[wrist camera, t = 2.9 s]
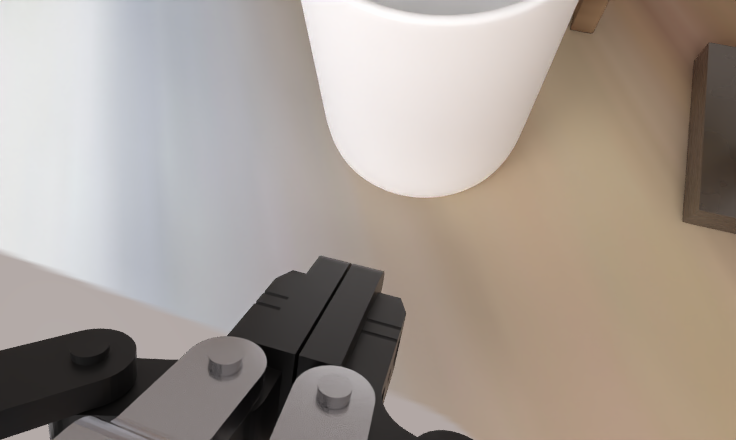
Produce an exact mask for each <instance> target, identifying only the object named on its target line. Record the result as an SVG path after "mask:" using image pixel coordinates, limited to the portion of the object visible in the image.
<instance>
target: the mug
mask: <svg viewBox="0 0 736 440" xmlns="http://www.w3.org/2000/svg"><path fill="white" fill-rule="evenodd" d="M578 1H579V0H301V2H302V7H303V12H304V16H305V21H306V26H307V30H308V35H309V40H310V44H311V49H312V54H313V59H314V63H315V68H316V73H317V77H318V82H319V87H320V91H321V96H322V101H323V106H324V110H325V115H326V119H327V123H328V127H329V129H330V132H331V135H332V138H333V141H334V143H335V145H336V147H337V148H338V150H339V152H340V154H341V155H342V157H343V158H344V159H345V161H346V162H347V164H348V165H349V166H350V167H351V168H352V169H353V170H354V171H355V172H356V173H357V174H359V175H360V176H361V177H363V178H364V179H365V180H367V181H368V182H370V183H372V184H373V185H375V186H377V187H379V188H382V189H384V190H386V191H389V192H392V193H395V194H399V195H404V196H409V197H420V198H431V197H442V196H447V195H452V194H455V193H458V192H462V191H465V190H467V189H469V188H471V187H473V186H475V185H477V184H479V183H480V182H482V181H483V180H485V179H487V178H488V177H489V176H490V175H491V174H493V173H494V172H495V171H496V170H497V169H498V168H499V167H500V166H501V164H502V163H503V162H504V161H505V160H506V159H507V157H508V156H509V154H510V153H511V151H512V150H513V148H514V146H515V145H516V143H517V141H518V139H519V137H520V134H521V132H522V130H523V128H524V126H525V123H526V121H527V119H528V116H529V114H530V112H531V110H532V107H533V105H534V103H535V100H536V98H537V96H538V93H539V91H540V89H541V86H542V84H543V82H544V79H545V77H546V75H547V72H548V70H549V68H550V66H551V63H552V61H553V59H554V56H555V54H556V52H557V49H558V47H559V45H560V42H561V40H562V38H563V35H564V33H565V31H566V29H567V26H568V24H569V22H570V19H571V17H572V15H573V12H574V10H575V8H576V5H577V3H578Z"/></svg>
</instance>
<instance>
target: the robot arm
mask: <svg viewBox="0 0 736 440" xmlns="http://www.w3.org/2000/svg"><path fill="white" fill-rule="evenodd" d="M383 280H384V271H380V270H376V269H372V268H368V267H364V266H360V265H356V264H351V263H348V262H344V261H340V260H336V259H332V258H328V257H324V256H319V258H318V259H317V260H316V262H315V263H314V264H313V266H312V267H311V268H310V270H309V271H308V272H307V274H305V273H301V272H297V271H291V272H288V273H286V274H284V275H282V276H280V277H278V278H276V279H275V280H274V281H273V282H272V283H271V285H270V286H269V287H268V288H267V289H266V290H265V293H263V294H262V295H261V296H260V298H259V299H258V300H257V302H256V304H254V305H253V306H252V307H251V308H250V309H249V311H248V312H247V313H246V314H245V315H244V317H243V318H242V319H241V320H240V321H239V322H238V324H237V325H236V326H235V327H234V328H233V330H232V331H231V332H230V333H229V334H228V336H223V337H215V338H211V339H207V340H205V341H202V342H200V343H198V344H196V345H195V346H194V347H192V348H191V349H190V350H189V351H188V352H187V353H186V354H185V355H183V356H182V357H181V358H180V359H179V360H163V359H141V358H137V355H136V345H135V342H134V341H133V340H132V338H130V337H129V336H128V335H126V334H124V333H123V332H120V331H116V330H111V329H89V330H84V331H79V332H75V333H70V334H66V335H62V336H58V337H54V338H51V339H46V340H42V341H38V342H34V343H30V344H26V345H21V346H17V347H13V348H9V349H5V350H1V351H0V440H1V439H4V438H7V437H10V436H13V435H16V434H19V433H22V432H25V431H28V430H31V429H34V428H37V427H40V426H43V425H46V424H48V425H49V432H50V440H473V439H471V438H469V437H467V436H465V435H462V434H460V433H456V432H452V431H445V430H436V431H430V432H427V433H424V434H422V435H421V436H419V437H416V436H414V435H413V434H411V433H409V432H408V431H406V430H405V429H403V428H402V427H400V426H399V425H398V424H397V423H396V422H395V421H394V420H393V419H392V418H391V417H390V416H389V414H388V413H387V411H386V410H385V407H384V405H383V403H384V399H385V396H386V393H387V390H388V386H389V383H390V380H391V376H392V373H393V370H394V366H395V361H396V357H397V352H398V347H399V343H400V338H401V334H402V329H403V325H404V320H405V316H406V312H405V309H404V306H403V303H402V301H401V298H397V297H393V296H390V295H386V294H382V293H381V290H382V285H383Z"/></svg>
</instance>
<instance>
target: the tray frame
mask: <svg viewBox="0 0 736 440" xmlns="http://www.w3.org/2000/svg"><path fill="white" fill-rule="evenodd" d="M608 2H609V0H579V1H578V3H577V5H576V8H575V10H574V13H573V19H572V24H571V30H577V31H582V32H588V33H593V32H594V30H595V28H596V26H597V24H598V22H599V20H600V18H601V16H602V14H603V12H604V10H605V8H606V6H607V4H608Z"/></svg>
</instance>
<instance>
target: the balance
mask: <svg viewBox="0 0 736 440" xmlns="http://www.w3.org/2000/svg"><path fill="white" fill-rule="evenodd" d="M683 222H686V223H690V224H695V225H699V226H703V227H708V228H712V229H717V230H721V231H725V232H730V233H734V234H736V47H731V46H726V45H720V44H715V43H708V44H707V46H706V47H705V48H704V49H703V51H702V52H701V53H700V54H699V56H698V57H697V58H696V59H695V60H694V69H693V83H692V97H691V111H690V125H689V139H688V153H687V167H686V181H685V195H684V209H683Z"/></svg>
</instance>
